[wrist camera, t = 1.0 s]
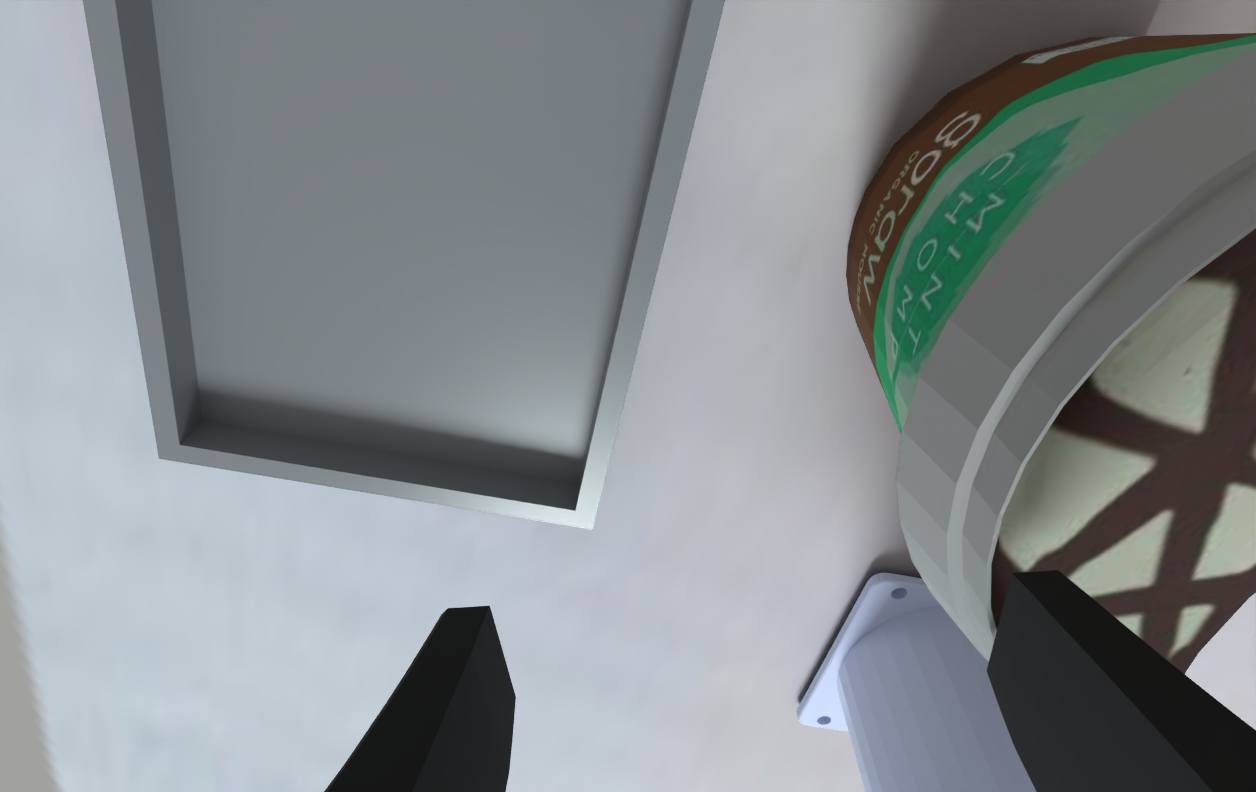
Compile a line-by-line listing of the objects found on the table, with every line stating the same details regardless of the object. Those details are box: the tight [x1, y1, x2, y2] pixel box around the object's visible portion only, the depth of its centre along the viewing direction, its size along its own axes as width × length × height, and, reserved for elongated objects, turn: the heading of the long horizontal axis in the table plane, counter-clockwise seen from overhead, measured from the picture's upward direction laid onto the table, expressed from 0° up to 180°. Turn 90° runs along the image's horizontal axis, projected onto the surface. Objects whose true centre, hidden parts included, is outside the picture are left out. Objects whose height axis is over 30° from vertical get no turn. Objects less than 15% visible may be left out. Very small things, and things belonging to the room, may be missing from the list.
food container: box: [846, 33, 1256, 674], centre depth 13 cm, size 12×6×10 cm, turn 172°
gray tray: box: [83, 0, 725, 530], centre depth 16 cm, size 12×20×2 cm, turn 168°
